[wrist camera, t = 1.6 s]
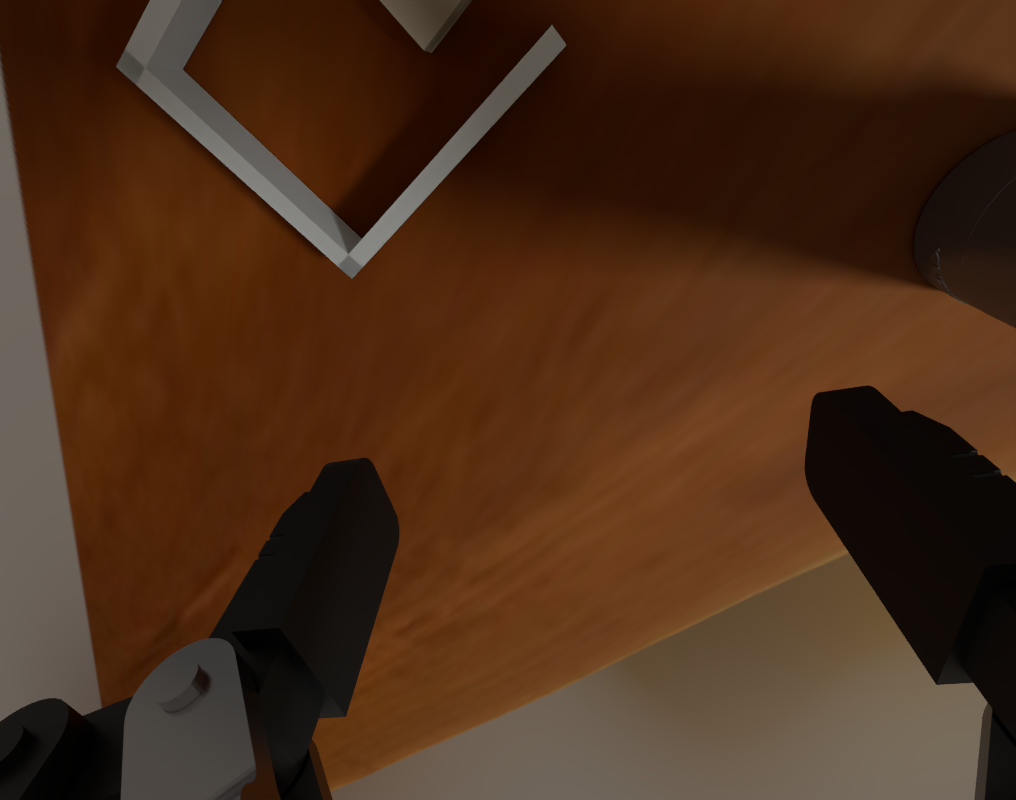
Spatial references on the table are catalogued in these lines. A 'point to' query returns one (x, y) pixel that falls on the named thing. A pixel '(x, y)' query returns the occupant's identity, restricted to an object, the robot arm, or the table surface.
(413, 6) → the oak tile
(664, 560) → the table surface
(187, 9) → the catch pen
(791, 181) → the table surface
